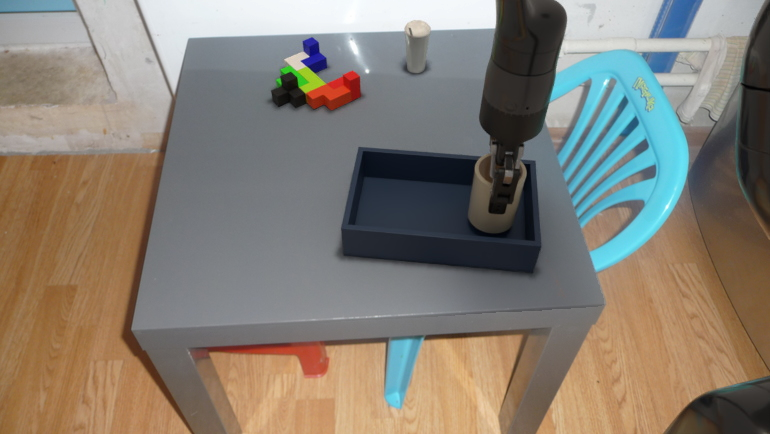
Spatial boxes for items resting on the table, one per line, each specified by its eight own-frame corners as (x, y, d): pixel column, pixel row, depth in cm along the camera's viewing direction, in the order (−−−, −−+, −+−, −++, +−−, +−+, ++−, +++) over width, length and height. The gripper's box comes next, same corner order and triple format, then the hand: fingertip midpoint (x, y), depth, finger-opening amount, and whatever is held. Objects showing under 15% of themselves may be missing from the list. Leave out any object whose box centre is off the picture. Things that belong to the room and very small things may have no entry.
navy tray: (528, 188, 88) (535, 160, 84) (533, 272, 78) (541, 246, 74) (359, 174, 90) (358, 146, 86) (343, 255, 80) (340, 228, 76)
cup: (524, 216, 82) (537, 170, 75) (494, 241, 79) (504, 196, 72) (488, 190, 85) (497, 144, 78) (457, 214, 82) (464, 168, 75)
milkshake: (396, 73, 107) (397, 24, 99) (410, 58, 110) (412, 9, 102) (419, 81, 105) (421, 31, 98) (432, 65, 108) (435, 16, 101)
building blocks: (254, 82, 105) (249, 62, 102) (314, 56, 110) (312, 36, 107) (298, 126, 98) (295, 105, 94) (361, 96, 103) (360, 75, 99)
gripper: (555, 136, 61) (526, 236, 74) (547, 56, 70) (522, 157, 83) (482, 131, 61) (466, 230, 74) (483, 52, 71) (469, 152, 83)
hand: (496, 191), depth 78 cm, fingers closed on cup, 6 cm apart
